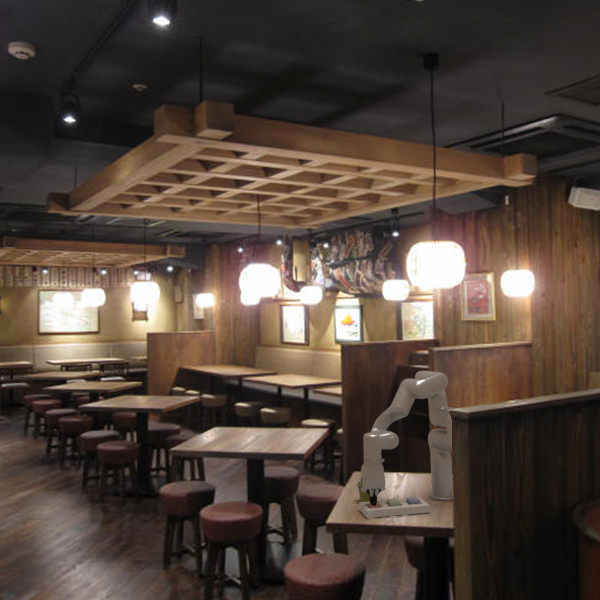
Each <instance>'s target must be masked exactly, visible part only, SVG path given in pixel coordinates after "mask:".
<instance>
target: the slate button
mask: <svg viewBox="0 0 600 600" xmlns="http://www.w3.org/2000/svg"><path fill="white" fill-rule="evenodd" d="M406 498H407V503H408V504H409V505H412V504H420V499H421V498H420V499H418V498H417V496H409V497H406Z"/></svg>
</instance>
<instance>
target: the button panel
mask: <svg viewBox="0 0 600 600" xmlns="http://www.w3.org/2000/svg"><path fill="white" fill-rule="evenodd" d="M416 497H417V496H416ZM417 498H418V499H420V504H412V505H409V504H408V503H407V497H406V498H405V497H404V498H397V499H398V500H399V501H400V506H390V507H389V506H388V505H387V499H384V500H383V499H382V500H377V503H378V504H379V505H380V507H379V508H369V507H368V505H367V504H368V503H370V501H369V502H361V501H358V511H359V512H360V513H361V514H362V515H363V517H365V519H366V518H367V519H366V520H370V519H369V518H377V519H383V518H382V517H387V518H391V517H390V516H398V517H404V516H403V515H409V516H419V515H429V514H430V512H431V511H430V510H431V509H430V507H431V506H430V504H428V503H427V502H426V501H425V500H423V499H422V498H421V497H419V496H418V497H417Z"/></svg>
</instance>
